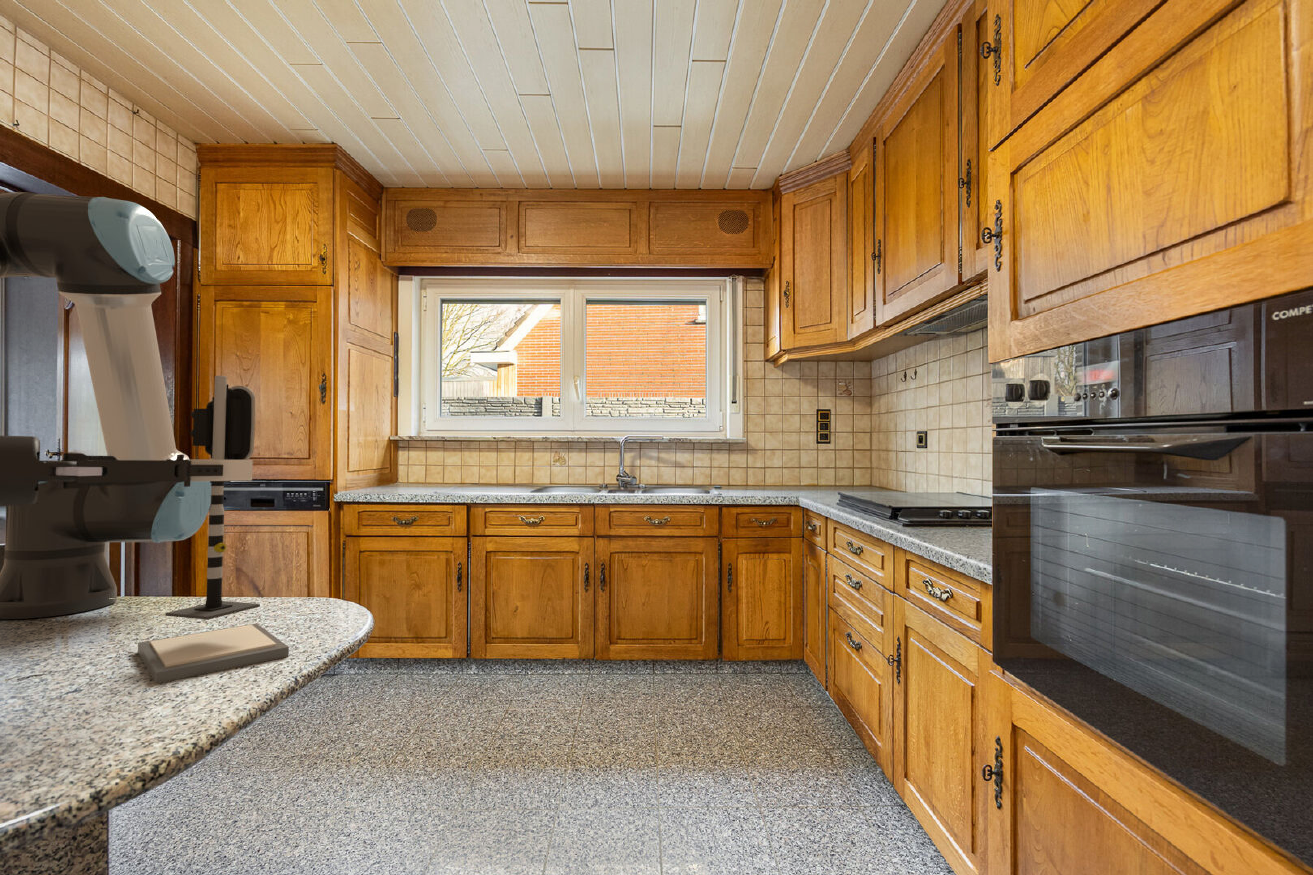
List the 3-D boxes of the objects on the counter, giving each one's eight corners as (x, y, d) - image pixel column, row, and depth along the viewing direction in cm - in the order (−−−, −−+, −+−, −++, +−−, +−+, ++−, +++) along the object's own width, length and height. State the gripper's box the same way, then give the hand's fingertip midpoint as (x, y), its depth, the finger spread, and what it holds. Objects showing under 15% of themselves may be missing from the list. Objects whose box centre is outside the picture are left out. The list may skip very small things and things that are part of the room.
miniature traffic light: (264, 605, 80) (270, 379, 81) (207, 619, 73) (215, 371, 74) (221, 602, 82) (227, 381, 83) (162, 615, 75) (170, 373, 76)
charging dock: (137, 652, 77) (138, 640, 77) (256, 631, 87) (256, 621, 87) (156, 683, 67) (156, 669, 67) (288, 656, 76) (288, 644, 77)
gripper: (-14, 502, 69) (233, 495, 86) (-20, 511, 58) (263, 501, 75) (-11, 436, 69) (235, 442, 86) (-16, 433, 59) (265, 441, 76)
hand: (248, 469), depth 81 cm, fingers closed on miniature traffic light, 2 cm apart
